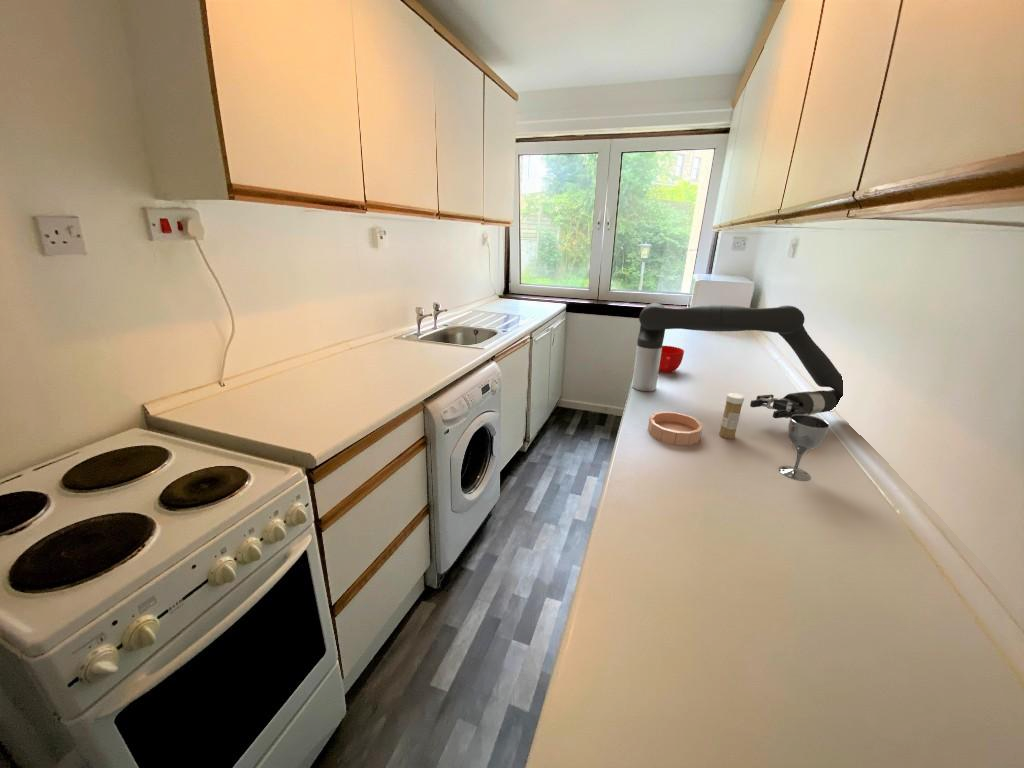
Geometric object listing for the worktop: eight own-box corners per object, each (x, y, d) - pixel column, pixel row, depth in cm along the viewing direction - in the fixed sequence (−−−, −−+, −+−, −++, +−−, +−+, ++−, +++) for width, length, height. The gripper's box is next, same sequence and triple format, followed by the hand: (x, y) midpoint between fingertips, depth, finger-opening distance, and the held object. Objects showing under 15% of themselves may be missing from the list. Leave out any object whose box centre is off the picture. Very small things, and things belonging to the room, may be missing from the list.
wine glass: (795, 483, 103) (811, 429, 98) (769, 467, 111) (783, 415, 105) (820, 479, 105) (837, 426, 100) (793, 463, 113) (807, 412, 107)
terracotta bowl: (643, 422, 136) (645, 410, 134) (690, 423, 135) (692, 412, 133) (655, 444, 122) (657, 431, 120) (707, 446, 121) (710, 434, 119)
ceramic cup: (649, 376, 178) (652, 354, 175) (650, 365, 194) (653, 344, 190) (681, 380, 175) (685, 357, 171) (679, 368, 190) (683, 347, 186)
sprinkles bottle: (717, 431, 130) (726, 391, 125) (733, 433, 129) (742, 393, 124) (720, 438, 126) (728, 397, 121) (736, 440, 125) (746, 398, 120)
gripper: (786, 385, 137) (746, 389, 132) (828, 401, 124) (785, 406, 120) (781, 406, 139) (741, 411, 135) (821, 423, 127) (779, 430, 122)
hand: (762, 409), depth 127 cm, fingers open, 8 cm apart
